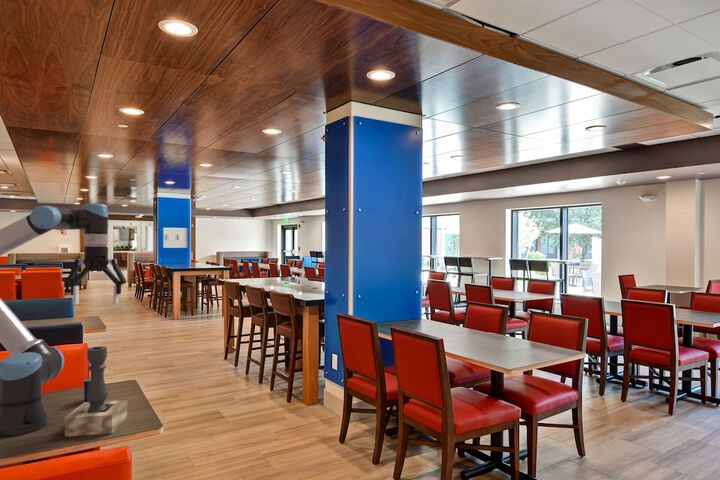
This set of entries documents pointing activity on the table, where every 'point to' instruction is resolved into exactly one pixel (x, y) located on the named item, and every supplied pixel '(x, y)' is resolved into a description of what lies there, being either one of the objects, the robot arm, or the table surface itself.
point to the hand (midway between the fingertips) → (96, 303)
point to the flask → (86, 388)
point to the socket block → (95, 419)
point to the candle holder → (97, 379)
